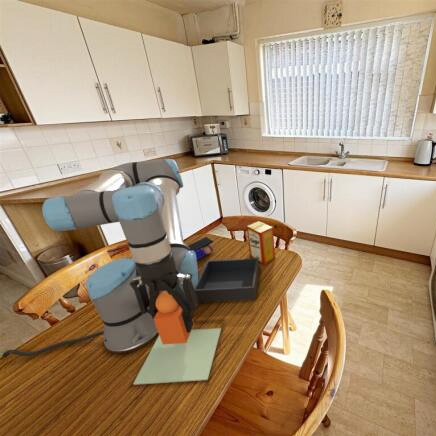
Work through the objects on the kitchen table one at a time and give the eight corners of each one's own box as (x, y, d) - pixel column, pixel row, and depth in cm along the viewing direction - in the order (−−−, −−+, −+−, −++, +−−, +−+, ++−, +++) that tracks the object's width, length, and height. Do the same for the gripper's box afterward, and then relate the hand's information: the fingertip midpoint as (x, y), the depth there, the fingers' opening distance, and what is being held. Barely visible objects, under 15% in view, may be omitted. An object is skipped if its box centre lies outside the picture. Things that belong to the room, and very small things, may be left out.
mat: (133, 384, 58) (133, 383, 58) (165, 324, 74) (165, 323, 74) (207, 380, 58) (207, 379, 58) (223, 320, 75) (223, 320, 75)
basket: (195, 303, 82) (192, 290, 80) (209, 271, 98) (207, 260, 96) (255, 300, 82) (253, 287, 80) (259, 269, 98) (258, 257, 96)
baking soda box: (275, 258, 105) (272, 226, 98) (263, 265, 101) (260, 232, 94) (261, 251, 111) (258, 220, 104) (250, 257, 107) (246, 225, 100)
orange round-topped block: (162, 344, 61) (146, 302, 55) (172, 325, 66) (158, 285, 60) (186, 343, 61) (173, 301, 55) (194, 324, 67) (182, 283, 61)
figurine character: (188, 271, 101) (217, 252, 110) (182, 257, 97) (213, 239, 106) (180, 265, 105) (209, 248, 114) (174, 252, 101) (204, 235, 110)
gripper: (201, 244, 57) (217, 315, 67) (120, 248, 56) (148, 319, 66) (190, 263, 50) (209, 339, 60) (99, 268, 50) (133, 343, 59)
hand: (177, 328), depth 63 cm, fingers closed on orange round-topped block, 6 cm apart
